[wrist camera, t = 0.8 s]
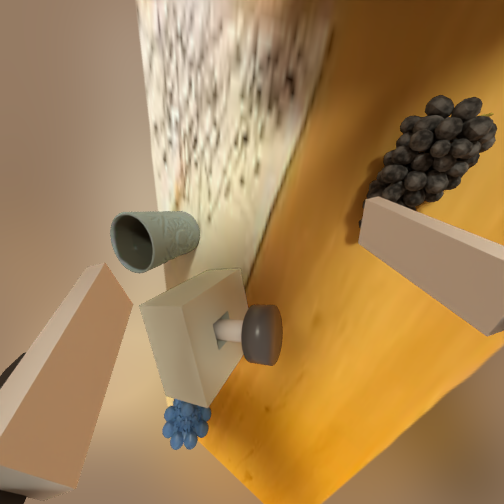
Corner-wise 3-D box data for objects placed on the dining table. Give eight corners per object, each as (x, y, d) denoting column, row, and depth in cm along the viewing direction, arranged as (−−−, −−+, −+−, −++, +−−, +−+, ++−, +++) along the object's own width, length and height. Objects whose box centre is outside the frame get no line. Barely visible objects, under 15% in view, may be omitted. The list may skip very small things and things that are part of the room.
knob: (219, 295, 37) (188, 318, 30) (277, 295, 32) (257, 323, 25) (228, 336, 39) (201, 367, 32) (285, 341, 34) (268, 380, 27)
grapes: (223, 393, 50) (190, 445, 40) (222, 413, 52) (190, 468, 42) (185, 373, 55) (146, 415, 44) (185, 393, 57) (148, 438, 46)
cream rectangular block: (206, 270, 43) (138, 305, 29) (240, 268, 40) (181, 306, 26) (221, 335, 46) (165, 395, 32) (254, 338, 43) (207, 408, 28)
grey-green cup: (211, 233, 41) (163, 246, 30) (187, 265, 45) (138, 285, 35) (178, 197, 42) (121, 197, 32) (158, 232, 47) (102, 242, 36)
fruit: (381, 252, 22) (546, 96, 15) (322, 206, 25) (433, 65, 19) (391, 249, 28) (509, 141, 22) (343, 213, 32) (431, 112, 25)
